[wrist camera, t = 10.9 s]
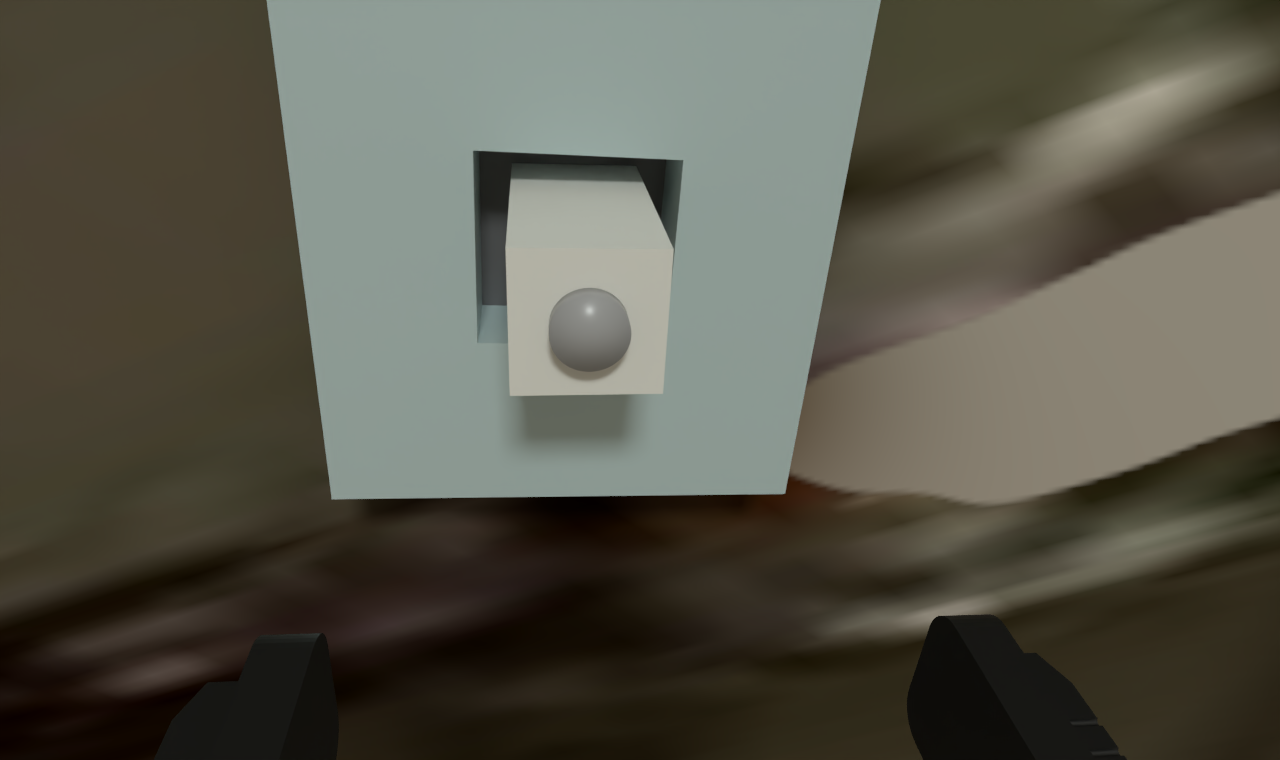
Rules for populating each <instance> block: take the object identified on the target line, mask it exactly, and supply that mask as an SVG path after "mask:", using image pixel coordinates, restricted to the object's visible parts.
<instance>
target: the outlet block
mask: <svg viewBox="0 0 1280 760" xmlns="http://www.w3.org/2000/svg"><path fill="white" fill-rule="evenodd" d="M880 1H881V0H267V6H268V14H269V22H270V29H271V37H272V45H273V52H274V60H275V67H276V75H277V83H278V90H279V98H280V106H281V113H282V121H283V129H284V136H285V144H286V152H287V159H288V167H289V175H290V182H291V190H292V198H293V205H294V213H295V221H296V228H297V236H298V243H299V251H300V259H301V266H302V274H303V282H304V289H305V297H306V305H307V312H308V320H309V328H310V335H311V343H312V351H313V358H314V366H315V374H316V381H317V389H318V396H319V404H320V412H321V419H322V427H323V435H324V442H325V450H326V458H327V465H328V473H329V481H330V488H331V496H332V499H394V498H479V497H565V496H650V495H736V494H785V491H786V485H787V480H788V475H789V470H790V464H791V459H792V454H793V449H794V444H795V438H796V434H797V428H798V423H799V418H800V413H801V408H802V403H803V398H804V393H805V388H806V382H807V377H808V372H809V367H810V362H811V357H812V351H813V346H814V341H815V336H816V331H817V326H818V321H819V315H820V310H821V305H822V300H823V295H824V290H825V285H826V279H827V274H828V269H829V264H830V259H831V254H832V248H833V243H834V238H835V233H836V228H837V223H838V218H839V212H840V207H841V202H842V197H843V192H844V187H845V181H846V176H847V171H848V166H849V161H850V156H851V151H852V145H853V140H854V135H855V130H856V125H857V120H858V114H859V109H860V104H861V99H862V94H863V89H864V84H865V78H866V73H867V68H868V63H869V58H870V53H871V48H872V42H873V37H874V32H875V27H876V22H877V17H878V11H879V6H880ZM512 163H526V164H571V165H617V166H636V167H637V169H638V171H639V174H640V176H641V178H642V180H643V182H644V185H645V187H646V189H647V191H648V193H649V196H650V198H651V200H652V202H653V204H654V207H655V209H656V211H657V213H658V216H659V218H660V220H661V222H662V224H663V227H664V229H665V231H666V233H667V235H668V238H669V240H670V242H671V244H672V246H673V249H674V253H673V266H672V280H671V293H670V307H669V320H668V334H667V347H666V361H665V374H664V388H663V394H612V395H541V396H510V388H509V354H508V319H507V285H506V250H505V247H506V234H507V221H508V208H509V195H510V182H511V169H512Z"/></svg>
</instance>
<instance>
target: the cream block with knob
mask: <svg viewBox="0 0 1280 760" xmlns="http://www.w3.org/2000/svg"><path fill="white" fill-rule="evenodd" d="M505 250H506V285H507V319H508V354H509V388H510V396H541V395H612V394H663V388H664V374H665V361H666V347H667V334H668V320H669V307H670V293H671V280H672V266H673V253H674V249H673V246H672V244H671V242H670V240H669V238H668V235H667V233H666V231H665V229H664V227H663V224H662V222H661V220H660V218H659V216H658V213H657V211H656V209H655V207H654V204H653V202H652V200H651V198H650V196H649V193H648V191H647V189H646V187H645V185H644V182H643V180H642V178H641V176H640V174H639V171H638V169H637V167H636V166H617V165H571V164H526V163H512V169H511V182H510V195H509V208H508V221H507V234H506V247H505Z"/></svg>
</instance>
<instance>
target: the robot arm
mask: <svg viewBox="0 0 1280 760" xmlns="http://www.w3.org/2000/svg"><path fill="white" fill-rule="evenodd" d="M907 712H908V720H909V725H910V729H911V732H912V735H913V738H914V740H915V743H916V745H917V747H918V749H919V751H920V753H921V756H922V758H923V760H1127V759H1126V758H1125V756H1120V754H1119V752H1118V747H1117V745H1116V744H1115V742H1114V741H1113V740H1112V738H1111V737H1110V735H1109V734H1108V733H1107V731H1106V730H1105V729H1104V727H1103V726H1099V725H1098V723H1097V717H1096V716H1095V715H1094V713H1093V712H1092V710H1091V709H1090V708H1089V706H1088V705H1087V703H1086V702H1085V701H1084V699H1083V698H1082V696H1081V695H1080V694H1079V692H1078V691H1077V689H1076V688H1075V687H1074V685H1073V684H1072V683H1071V682H1070V681H1069V680H1068V679H1067V678H1065V677H1064V676H1063V675H1062V674H1061V673H1059V672H1058V671H1057V670H1056V669H1055V668H1053V667H1052V666H1051V665H1050V664H1049V663H1047V662H1046V661H1045V660H1044V659H1043V658H1041V657H1040V656H1039V655H1038V654H1037V653H1023V651H1022V650H1021V649H1020V647H1019V646H1018V644H1017V643H1016V641H1015V640H1014V638H1013V637H1012V635H1011V634H1010V632H1009V631H1008V629H1007V628H1006V626H1005V625H1004V624H1003V623H1002V621H1001V620H1000V619H998V618H997V617H996V616H994V615H957V616H938V617H936V618H935V619H934V620H933V621H932V623H931V625H930V627H929V631H928V634H927V637H926V640H925V643H924V646H923V649H922V652H921V655H920V658H919V661H918V664H917V667H916V670H915V673H914V676H913V679H912V682H911V685H910V688H909V692H908V698H907ZM338 733H339V721H338V710H337V704H336V697H335V690H334V684H333V677H332V670H331V664H330V657H329V650H328V644H327V640H326V637H325V635H324V634H323V633H317V634H285V635H260V636H259V637H258V638H257V639H256V640H255V642H254V644H253V646H252V648H251V650H250V653H249V656H248V658H247V661H246V663H245V666H244V668H243V671H242V673H241V676H240V679H239V681H235V682H209V683H207V684H206V685H205V686H204V687H203V688H202V689H201V690H200V691H199V692H198V693H197V694H196V695H195V696H194V698H193V699H192V700H191V701H190V702H189V703H188V704H187V705H186V706H185V707H184V708H183V709H182V710H181V711H180V712H179V713H178V714H177V716H176V717H175V718H174V719H173V720H172V721H171V724H170V726H169V728H168V730H167V732H166V735H165V737H164V739H163V741H162V743H161V746H160V748H159V750H158V752H157V754H156V756H155V759H154V760H336V756H337V747H338Z"/></svg>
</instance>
